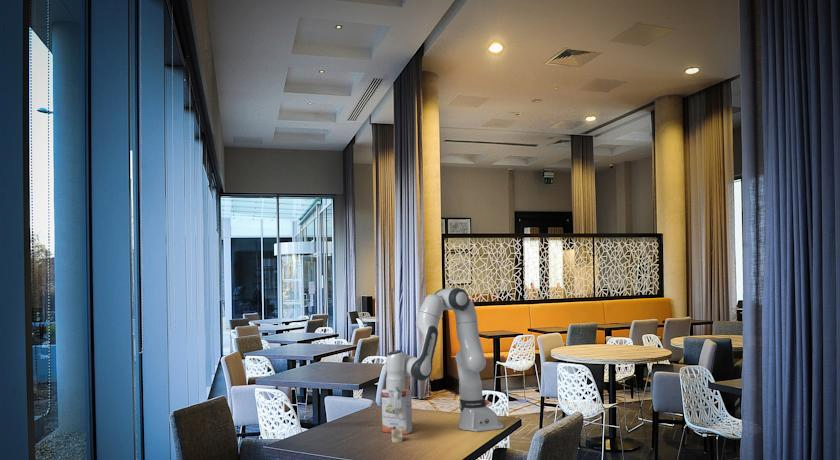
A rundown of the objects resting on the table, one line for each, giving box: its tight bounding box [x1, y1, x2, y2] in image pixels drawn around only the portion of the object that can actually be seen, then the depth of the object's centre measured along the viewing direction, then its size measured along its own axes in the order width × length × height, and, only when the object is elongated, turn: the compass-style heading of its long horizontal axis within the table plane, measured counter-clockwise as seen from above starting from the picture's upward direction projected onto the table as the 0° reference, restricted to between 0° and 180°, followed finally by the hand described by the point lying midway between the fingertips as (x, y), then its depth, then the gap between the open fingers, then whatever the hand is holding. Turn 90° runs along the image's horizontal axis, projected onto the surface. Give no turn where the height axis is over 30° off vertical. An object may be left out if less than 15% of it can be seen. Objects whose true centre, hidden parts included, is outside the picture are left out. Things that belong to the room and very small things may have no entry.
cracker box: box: [381, 388, 413, 435], centre depth 310 cm, size 14×6×21 cm, turn 62°
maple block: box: [391, 429, 403, 443], centre depth 293 cm, size 4×4×5 cm
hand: (395, 415), depth 294 cm, fingers open, 8 cm apart
